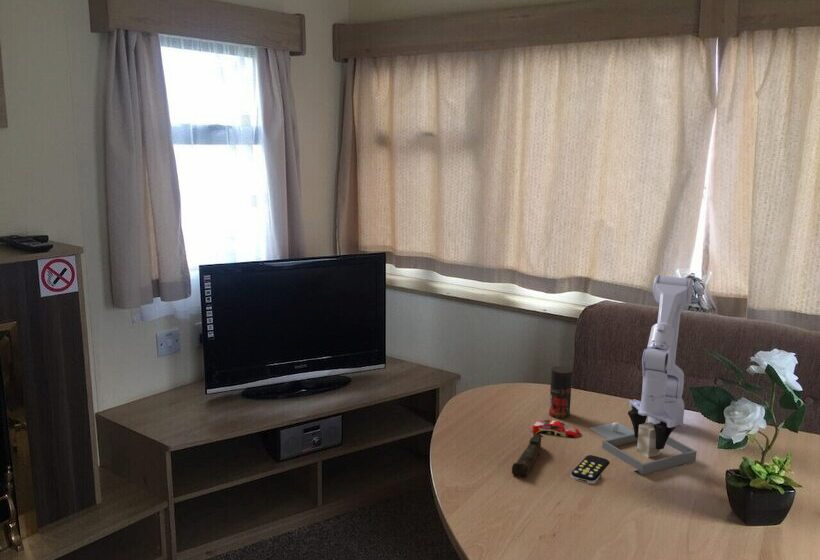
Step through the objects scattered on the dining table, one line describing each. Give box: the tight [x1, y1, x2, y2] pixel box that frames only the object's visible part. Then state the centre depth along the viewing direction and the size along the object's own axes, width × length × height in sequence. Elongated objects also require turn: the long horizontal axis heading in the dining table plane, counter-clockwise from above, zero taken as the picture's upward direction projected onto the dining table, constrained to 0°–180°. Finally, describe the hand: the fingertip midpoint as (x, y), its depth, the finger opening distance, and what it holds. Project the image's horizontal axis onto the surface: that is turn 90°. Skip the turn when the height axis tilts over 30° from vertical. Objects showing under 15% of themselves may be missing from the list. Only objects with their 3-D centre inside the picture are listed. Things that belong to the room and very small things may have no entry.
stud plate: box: [589, 421, 634, 440], centre depth 204 cm, size 10×10×4 cm
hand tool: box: [511, 433, 542, 479], centre depth 188 cm, size 19×4×5 cm, turn 153°
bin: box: [601, 434, 697, 477], centre depth 191 cm, size 18×15×3 cm
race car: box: [531, 419, 581, 439], centre depth 204 cm, size 13×5×4 cm, turn 71°
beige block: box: [636, 422, 661, 458], centre depth 190 cm, size 4×4×8 cm
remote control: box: [570, 454, 610, 485], centre depth 183 cm, size 6×13×2 cm, turn 146°
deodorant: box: [548, 365, 573, 420], centre depth 214 cm, size 6×6×15 cm
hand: (649, 442), depth 191 cm, fingers open, 7 cm apart
